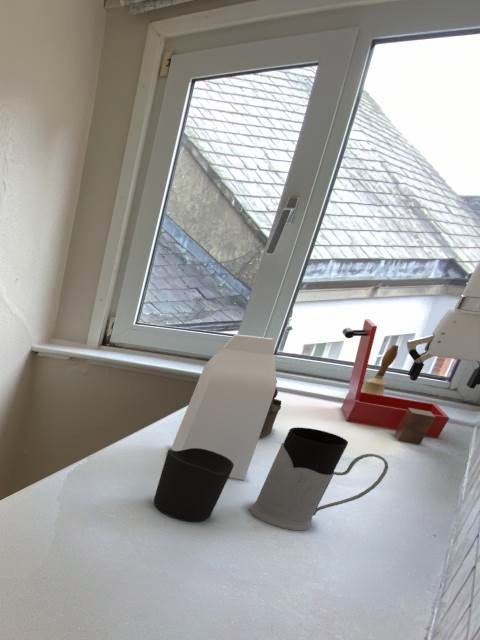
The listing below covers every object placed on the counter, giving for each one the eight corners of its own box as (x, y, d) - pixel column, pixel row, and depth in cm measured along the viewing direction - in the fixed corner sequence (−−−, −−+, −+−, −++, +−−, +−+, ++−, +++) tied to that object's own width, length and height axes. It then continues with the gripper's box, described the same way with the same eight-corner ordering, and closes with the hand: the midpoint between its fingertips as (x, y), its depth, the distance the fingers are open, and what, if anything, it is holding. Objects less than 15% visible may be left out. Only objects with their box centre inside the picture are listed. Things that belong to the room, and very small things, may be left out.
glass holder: (247, 499, 99) (281, 422, 92) (345, 522, 93) (389, 441, 86) (251, 520, 92) (288, 438, 86) (358, 546, 86) (407, 460, 80)
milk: (175, 466, 111) (220, 337, 99) (171, 447, 120) (212, 327, 109) (244, 480, 107) (300, 347, 95) (234, 459, 116) (285, 335, 104)
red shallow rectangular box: (425, 423, 144) (436, 404, 142) (437, 438, 134) (449, 417, 132) (340, 408, 153) (349, 389, 150) (346, 421, 143) (355, 401, 140)
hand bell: (386, 399, 163) (414, 346, 156) (385, 405, 157) (414, 350, 150) (350, 392, 168) (376, 340, 161) (348, 398, 162) (374, 344, 155)
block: (415, 438, 133) (430, 411, 130) (419, 444, 129) (435, 416, 126) (393, 434, 135) (408, 407, 132) (397, 440, 131) (412, 412, 128)
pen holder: (213, 530, 89) (236, 475, 84) (149, 513, 93) (167, 460, 88) (210, 506, 96) (231, 454, 92) (151, 492, 100) (168, 441, 96)
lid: (369, 319, 143) (343, 319, 146) (377, 326, 133) (349, 326, 136) (352, 388, 150) (327, 387, 153) (358, 400, 140) (332, 399, 143)
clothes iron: (225, 436, 128) (246, 380, 122) (234, 419, 140) (254, 368, 133) (265, 445, 124) (290, 388, 118) (272, 427, 135) (294, 374, 129)
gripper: (533, 308, 116) (489, 386, 124) (423, 299, 125) (388, 373, 133) (547, 313, 111) (499, 394, 119) (430, 303, 120) (393, 379, 127)
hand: (440, 383), depth 126 cm, fingers open, 9 cm apart
